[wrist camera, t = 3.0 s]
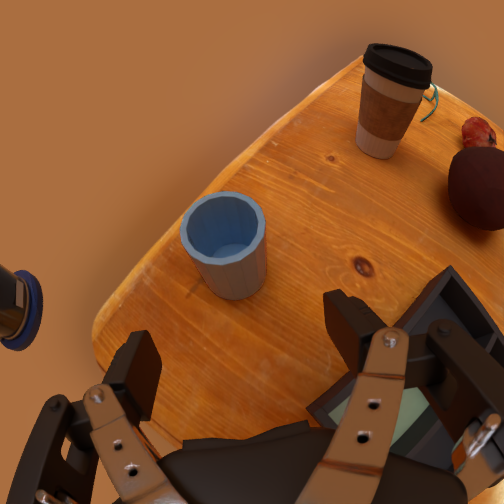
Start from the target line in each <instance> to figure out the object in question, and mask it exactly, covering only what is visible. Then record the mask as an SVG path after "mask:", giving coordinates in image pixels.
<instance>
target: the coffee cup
mask: <svg viewBox="0 0 504 504" xmlns="http://www.w3.org/2000/svg"><path fill="white" fill-rule="evenodd" d="M363 56H364V59H363V63H364V65H365V74H364V75H363V79H362V90H361V100H360V109H359V120H358V126H357V132H356V143H357V145H358V147H359V148H360V149H361V150H362V151H363V152H365V153H366V154H368V155H370V156H372V157H375V158H379V159H387V158H390V157H391V156H393V154H394V152H395V150H396V149H397V147H398V145H399V143H400V141H401V139H402V137H403V136H404V134H405V132H406V130H407V128H408V126H409V125H410V123H411V121H412V119H413V117H414V115H415V113H416V111H417V109H418V107H419V105H420V103H421V101H422V95H423V93H424V91H425V90H426V89H429V87H430V84H431V75H432V68H433V66H432V64H431V63H430V61H429V60H427V59H426V58H424V57H423V56H421V55H420V54H418V53H416V52H413V51H411V50H408V49H405V48H402V47H397V46H393V45H387V44H378V43H374V44H369V45H368V48H367V50H366V53H365V54H364V55H363Z"/></svg>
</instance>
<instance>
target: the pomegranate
mask: <svg viewBox="0 0 504 504" xmlns="http://www.w3.org/2000/svg"><path fill="white" fill-rule="evenodd" d="M462 137H463V145H464V147H465V148H467V147H472V146H479V147H495V144H496V145H497V143H496V134H495V132H494V130H493V129H492V128H491V127H490V126H489V124H488V122H486V121H485V120H483V119H482V118H480V117H471V118H469V119H467V120H466V121H465V124H464V125H463V126H462ZM495 148H496V147H495Z"/></svg>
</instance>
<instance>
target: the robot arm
mask: <svg viewBox="0 0 504 504" xmlns="http://www.w3.org/2000/svg"><path fill="white" fill-rule="evenodd" d="M323 302H324V315H325V325H326V329H327V332H328V335H329V336H330V338H331V340H332V341H333V343H334V344H335V346H336V348H337V349H338V351H339V353H340V354H341V356H342V358H343V359H344V361H345V363H346V364H347V366H348V368H349V369H350V371H351V373H352V374H353V376H354V378H355V380H356V382H355V384H354V387H353V390H352V392H351V395H350V398H349V400H348V403H347V405H346V408H345V410H344V413H343V415H342V418H341V420H340V422H339V425H338V427H337V429H332V428H325V427H310V426H309V423H308V420H304V421H300V422H296V423H292V424H288V425H284V426H279V427H276V428H273V429H271V430H269V431H266V432H264V433H261V434H259V435H256V436H254V437H251V438H249V439H245V440H235V439H222V438H203V439H191V440H183V447H182V449H179V450H177V451H174V452H172V453H170V454H168V455H166V456H164V457H163V458H162V457H161V456H160V455H159V453H158V452H157V450H156V449H155V448H154V446H153V445H152V444H151V442H150V441H149V439H148V438H147V437H146V435H145V434H144V432H143V431H142V429H141V428H140V427H139V424H140V421H150V419H151V414H152V410H153V405H154V400H155V396H156V392H157V387H158V383H159V379H160V374H161V370H162V361H161V357H160V355H159V353H158V351H157V348H156V346H155V344H154V342H153V340H152V338H151V335H150V333H149V332H148V331H147V330H142V331H135V332H131V333H130V335H129V337H128V340H127V342H126V343H124V344H123V345H122V346H121V347H120V348H119V349H118V350H117V351H116V353H115V356H114V359H113V360H112V362H111V365H110V366H109V368H108V370H107V372H106V375H105V377H104V379H103V381H102V383H101V384H97V385H95V386H93V387H91V388H90V389H88V390H87V391H86V393H85V394H84V396H83V400H80V401H76V402H72V403H70V402H69V400H68V399H67V398H66V397H65V396H64V395H61V394H58V395H55V396H52V397H51V398H49V399H48V400H47V401H46V402H45V404H44V406H43V408H42V410H41V412H40V414H39V417H38V419H37V421H36V423H35V425H34V427H33V429H32V432H31V434H30V436H29V439H28V441H27V443H26V446H25V448H24V451H23V453H22V456H21V459H20V461H19V464H18V467H17V470H16V472H15V475H14V478H13V481H12V485H11V488H10V491H9V494H8V498H7V502H6V504H90V502H91V497H92V491H93V485H94V479H95V475H96V469H97V465H98V460H99V457H100V459H101V461H102V464H103V465H104V468H105V470H106V472H107V474H108V476H109V478H110V479H111V482H112V483H113V485H114V487H115V489H116V491H117V492H118V494H119V496H120V497H119V498H118V499H117V500H116V501H115V502H114V503H112V504H468V502H469V501H470V500H471V499H473V498H474V497H476V496H477V495H478V494H480V493H481V492H482V491H484V490H485V489H486V488H490V487H493V486H495V485H497V484H498V483H499V482H500V481H502V480H503V479H504V368H503V367H502V366H501V365H500V364H499V363H498V362H497V361H496V360H495V359H494V358H493V357H492V356H491V355H490V354H489V353H488V352H487V351H486V350H485V349H484V348H483V347H482V346H481V345H480V344H478V343H477V342H476V341H475V340H474V339H473V338H472V337H471V336H470V335H469V334H468V333H467V332H466V331H465V330H463V329H462V328H461V327H460V326H459V325H458V324H457V323H455V322H454V321H452V320H448V319H438V320H435V321H433V322H431V323H430V324H429V326H428V330H427V333H424V334H418V335H411V336H408V334H407V333H406V332H405V331H404V330H402V329H400V328H396V327H388V326H387V325H386V324H385V323H384V322H383V321H382V320H381V319H380V318H379V317H378V316H377V315H376V314H375V313H374V312H373V311H372V310H371V309H370V307H368V305H367V304H366V303H365V302H364V301H363V300H361V299H359V298H356V297H354V296H352V297H347V296H346V295H345V293H344V292H343V291H342V290H341V289H337V290H333V291H329V292H325V293H324V294H323ZM30 311H31V290H30V287H29V284H28V283H27V281H26V280H25V279H23V278H21V277H20V276H17V275H16V274H14V273H12V272H11V271H9V270H8V269H6V268H5V267H3V266H2V265H1V264H0V340H2V341H3V340H4V339H8V340H15V339H17V338H18V337H19V336H20V335H21V334H22V333H23V331H24V329H25V327H26V325H27V323H28V320H29V316H30ZM416 387H418V388H419V389H420V391H421V392H422V393H423V395H424V396H425V398H426V399H427V401H428V402H429V404H430V405H431V407H432V408H433V410H434V412H435V413H436V415H437V416H438V418H439V419H440V421H441V422H442V424H443V426H444V427H445V429H446V430H447V432H448V434H449V435H450V437H451V438H452V440H453V442H454V443H455V445H454V447H453V449H452V453H451V459H452V463H453V466H454V472H453V473H452V472H450V471H447V470H444V469H441V468H437V467H434V466H431V465H427V464H424V463H421V462H418V461H415V460H412V459H410V458H407V457H404V456H401V455H398V454H396V453H393V452H391V451H389V449H390V446H391V442H392V438H393V435H394V431H395V427H396V423H397V419H398V414H399V410H400V405H401V400H402V395H403V390H404V389H410V388H416ZM65 437H66V438H67V439H68V440H69V441H70V442H71V445H70V448H69V451H68V455H67V458H66V461H65V460H64V459H63V457H62V455H61V447H62V445H63V442H64V439H65Z"/></svg>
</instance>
